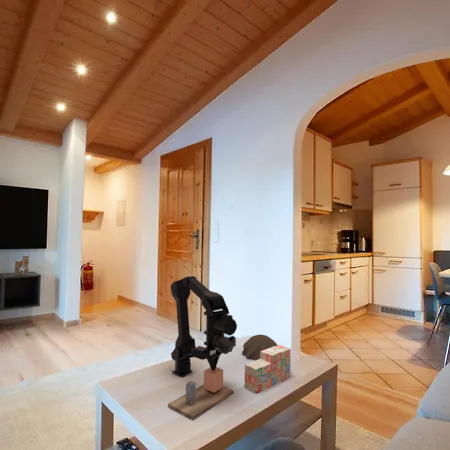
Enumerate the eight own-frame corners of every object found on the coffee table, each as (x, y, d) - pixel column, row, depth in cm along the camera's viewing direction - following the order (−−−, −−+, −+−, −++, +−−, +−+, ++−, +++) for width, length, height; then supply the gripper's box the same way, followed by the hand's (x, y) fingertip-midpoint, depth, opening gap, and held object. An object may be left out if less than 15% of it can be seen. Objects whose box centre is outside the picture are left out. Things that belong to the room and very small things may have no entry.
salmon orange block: (203, 388, 116) (203, 370, 117) (212, 383, 120) (212, 365, 121) (214, 392, 113) (214, 374, 113) (223, 387, 117) (223, 369, 117)
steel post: (185, 407, 107) (186, 383, 108) (190, 404, 109) (190, 380, 109) (190, 409, 106) (190, 385, 106) (195, 406, 108) (195, 383, 108)
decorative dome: (269, 366, 143) (269, 344, 143) (234, 355, 154) (234, 335, 155) (287, 353, 158) (287, 333, 158) (254, 345, 170) (254, 326, 170)
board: (168, 407, 107) (168, 403, 107) (210, 383, 124) (210, 380, 124) (192, 420, 100) (192, 416, 100) (233, 393, 117) (233, 390, 117)
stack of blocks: (255, 394, 117) (256, 361, 117) (244, 388, 122) (244, 356, 122) (290, 377, 131) (290, 348, 131) (278, 372, 136) (279, 344, 136)
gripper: (213, 339, 105) (213, 385, 105) (245, 327, 120) (245, 367, 119) (190, 332, 112) (190, 376, 112) (222, 321, 127) (222, 360, 126)
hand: (213, 370), depth 117 cm, fingers closed, pressing on salmon orange block
